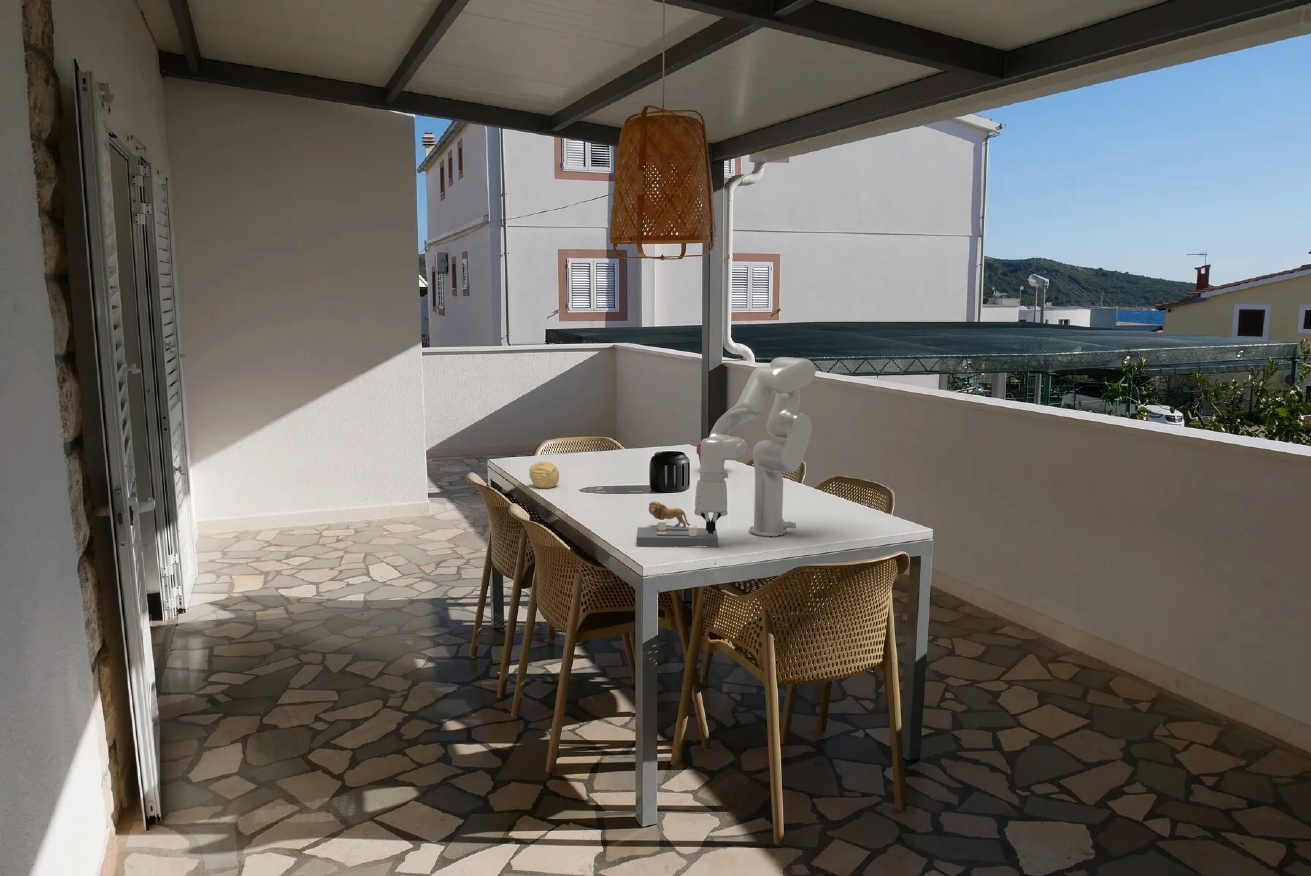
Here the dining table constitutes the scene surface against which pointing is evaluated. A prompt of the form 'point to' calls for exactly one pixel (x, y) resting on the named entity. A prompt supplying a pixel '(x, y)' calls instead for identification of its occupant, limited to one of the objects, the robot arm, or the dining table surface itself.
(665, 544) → the switch board
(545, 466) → the sculpture
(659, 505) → the lion figurine
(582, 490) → the dining table surface
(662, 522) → the switch
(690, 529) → the switch
